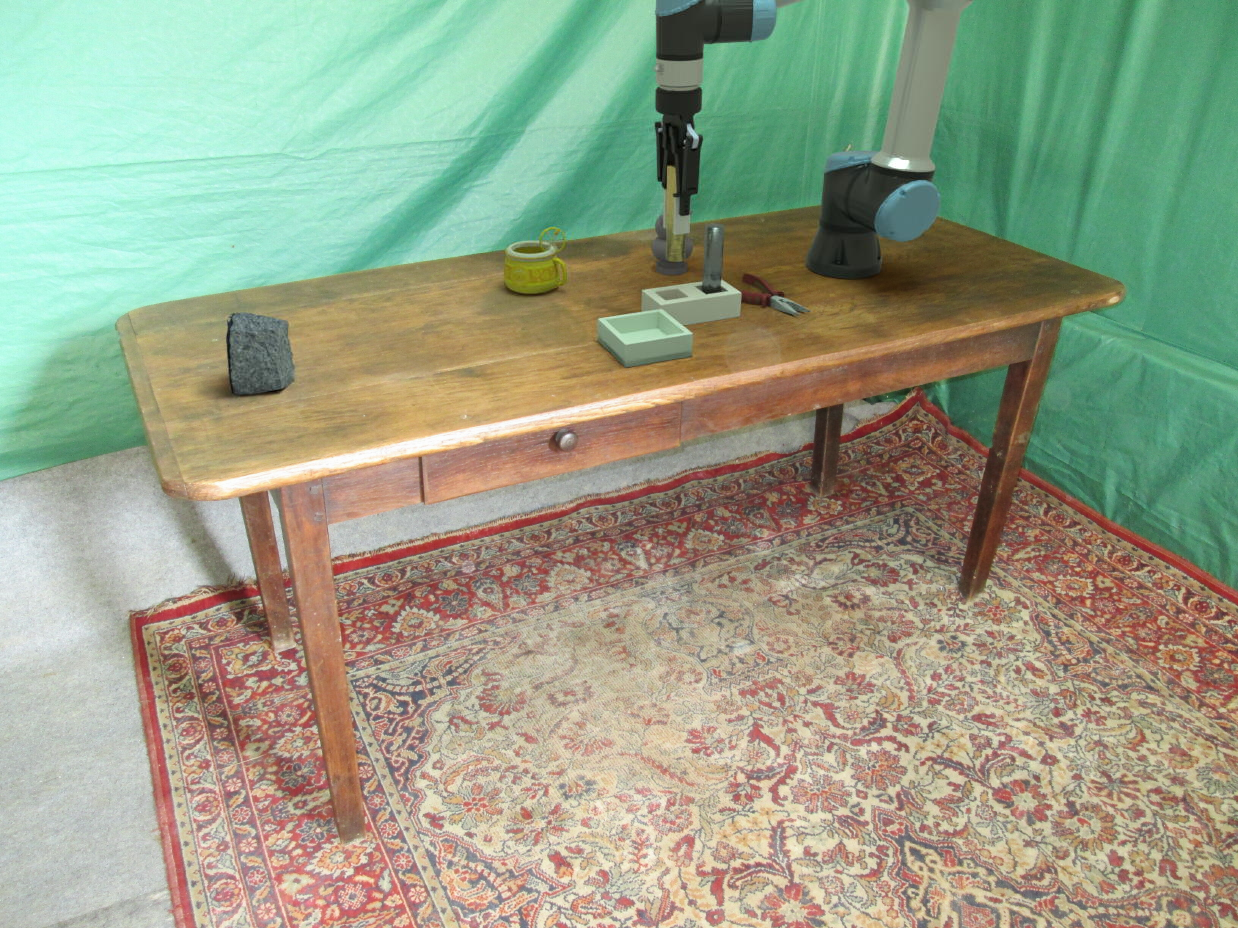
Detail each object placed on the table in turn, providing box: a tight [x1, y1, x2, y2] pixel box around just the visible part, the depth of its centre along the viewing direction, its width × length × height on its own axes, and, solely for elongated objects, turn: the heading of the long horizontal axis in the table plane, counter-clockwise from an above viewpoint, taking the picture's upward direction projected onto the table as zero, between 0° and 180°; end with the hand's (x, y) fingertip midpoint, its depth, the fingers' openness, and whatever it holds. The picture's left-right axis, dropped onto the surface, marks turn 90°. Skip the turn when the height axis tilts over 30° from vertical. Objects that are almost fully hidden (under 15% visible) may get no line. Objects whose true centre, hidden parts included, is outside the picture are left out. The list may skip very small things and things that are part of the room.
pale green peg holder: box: [640, 278, 742, 327], centre depth 178 cm, size 16×8×4 cm, turn 113°
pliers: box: [737, 273, 811, 317], centre depth 185 cm, size 12×20×3 cm, turn 39°
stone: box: [225, 312, 296, 396], centre depth 150 cm, size 12×10×10 cm
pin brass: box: [666, 163, 687, 262], centre depth 168 cm, size 3×3×16 cm
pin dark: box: [701, 222, 726, 294], centre depth 176 cm, size 3×3×16 cm
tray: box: [597, 309, 694, 369], centre depth 165 cm, size 12×12×4 cm
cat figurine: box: [651, 210, 694, 276], centre depth 197 cm, size 8×8×12 cm
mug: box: [503, 226, 568, 295], centre depth 188 cm, size 13×11×12 cm
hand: (676, 229), depth 170 cm, fingers closed on pin brass, 3 cm apart
